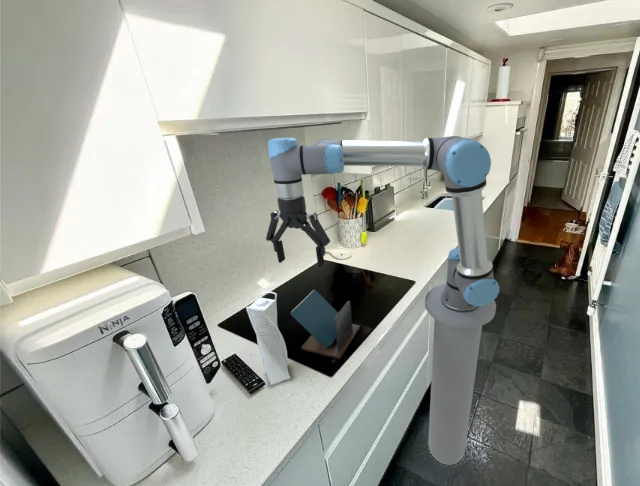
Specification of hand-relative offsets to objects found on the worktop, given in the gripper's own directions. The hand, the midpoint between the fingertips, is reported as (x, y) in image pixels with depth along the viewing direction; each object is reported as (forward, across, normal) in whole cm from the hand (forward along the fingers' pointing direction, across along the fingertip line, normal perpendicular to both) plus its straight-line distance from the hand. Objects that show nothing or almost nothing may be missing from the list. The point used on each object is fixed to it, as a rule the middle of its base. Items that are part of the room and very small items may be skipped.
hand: (301, 263), depth 96 cm
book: (+25, -11, +2) cm, 27 cm away
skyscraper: (+27, 0, +20) cm, 34 cm away
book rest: (+27, -8, +2) cm, 28 cm away
